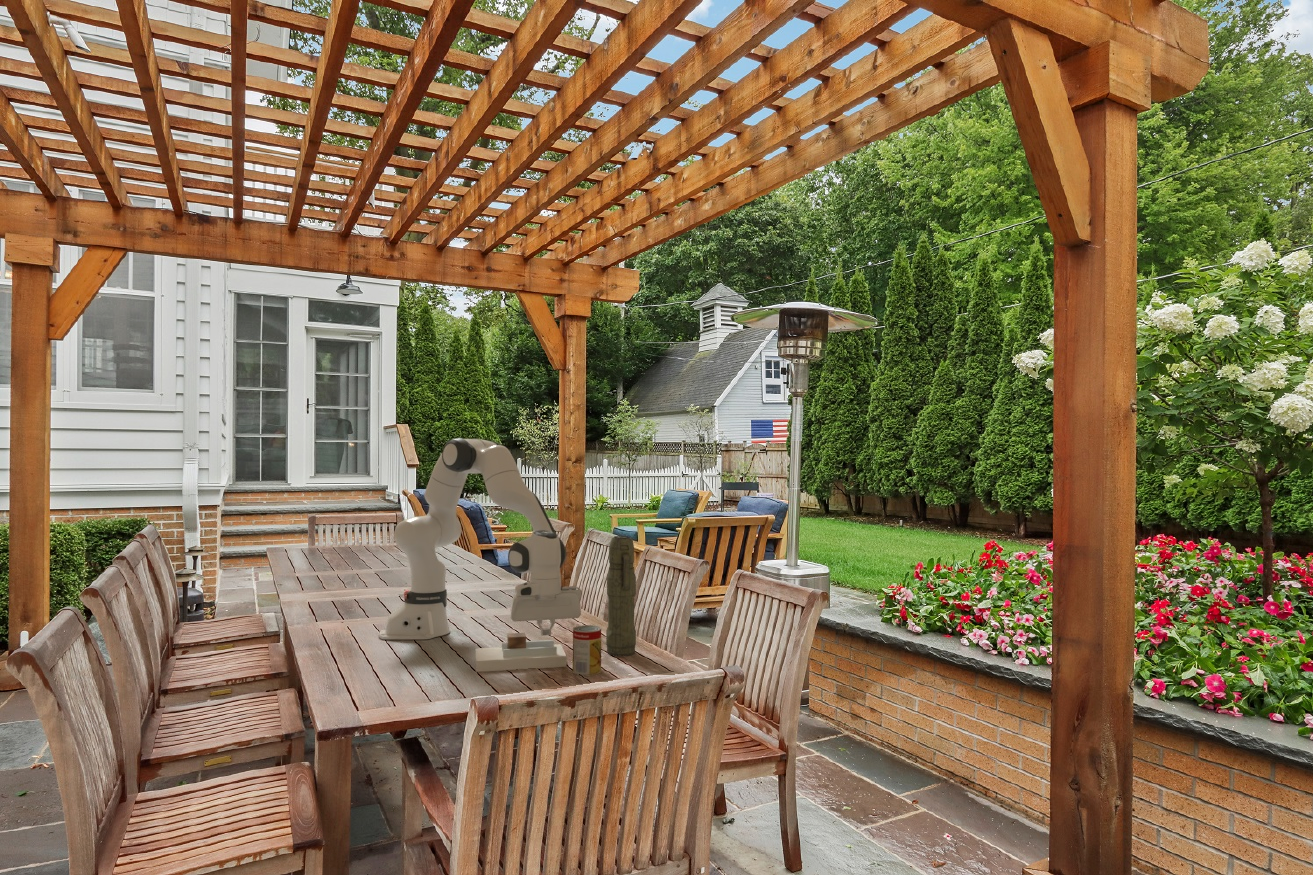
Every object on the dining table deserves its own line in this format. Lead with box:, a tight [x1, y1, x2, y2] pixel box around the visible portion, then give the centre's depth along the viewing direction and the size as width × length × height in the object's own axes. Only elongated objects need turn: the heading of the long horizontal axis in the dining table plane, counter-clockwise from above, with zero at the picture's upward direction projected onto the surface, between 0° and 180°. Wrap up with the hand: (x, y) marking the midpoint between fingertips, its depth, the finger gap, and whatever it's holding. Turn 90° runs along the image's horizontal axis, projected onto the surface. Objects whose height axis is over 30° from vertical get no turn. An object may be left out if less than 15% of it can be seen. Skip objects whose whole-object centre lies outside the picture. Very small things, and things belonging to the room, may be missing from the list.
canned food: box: [572, 624, 602, 676], centre depth 226 cm, size 8×8×12 cm
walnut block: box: [506, 632, 527, 649], centre depth 234 cm, size 5×5×5 cm
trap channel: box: [474, 639, 567, 673], centre depth 234 cm, size 25×14×5 cm, turn 103°
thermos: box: [605, 535, 637, 657], centre depth 246 cm, size 9×12×35 cm
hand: (545, 634), depth 236 cm, fingers closed
